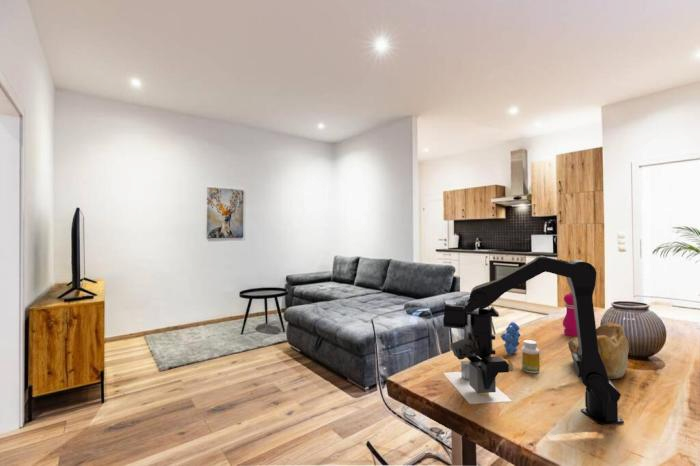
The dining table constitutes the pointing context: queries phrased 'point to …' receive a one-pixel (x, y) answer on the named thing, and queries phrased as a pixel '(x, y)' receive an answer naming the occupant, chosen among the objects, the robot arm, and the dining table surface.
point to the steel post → (465, 370)
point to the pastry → (510, 364)
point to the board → (471, 393)
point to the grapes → (511, 338)
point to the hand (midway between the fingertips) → (482, 384)
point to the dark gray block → (478, 379)
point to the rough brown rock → (609, 348)
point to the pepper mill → (570, 316)
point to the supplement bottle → (530, 357)
